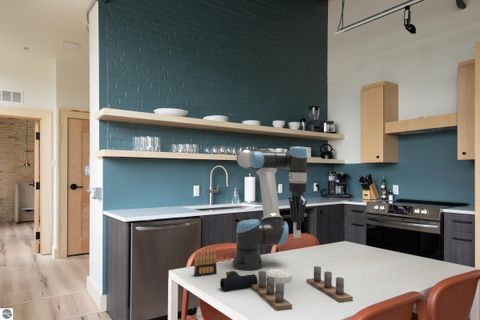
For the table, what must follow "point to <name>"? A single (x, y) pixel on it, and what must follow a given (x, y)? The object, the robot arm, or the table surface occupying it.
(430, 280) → the table surface
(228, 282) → the pipe connector
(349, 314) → the table surface
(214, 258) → the ammunition clip
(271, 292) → the rails
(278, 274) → the mooncake
